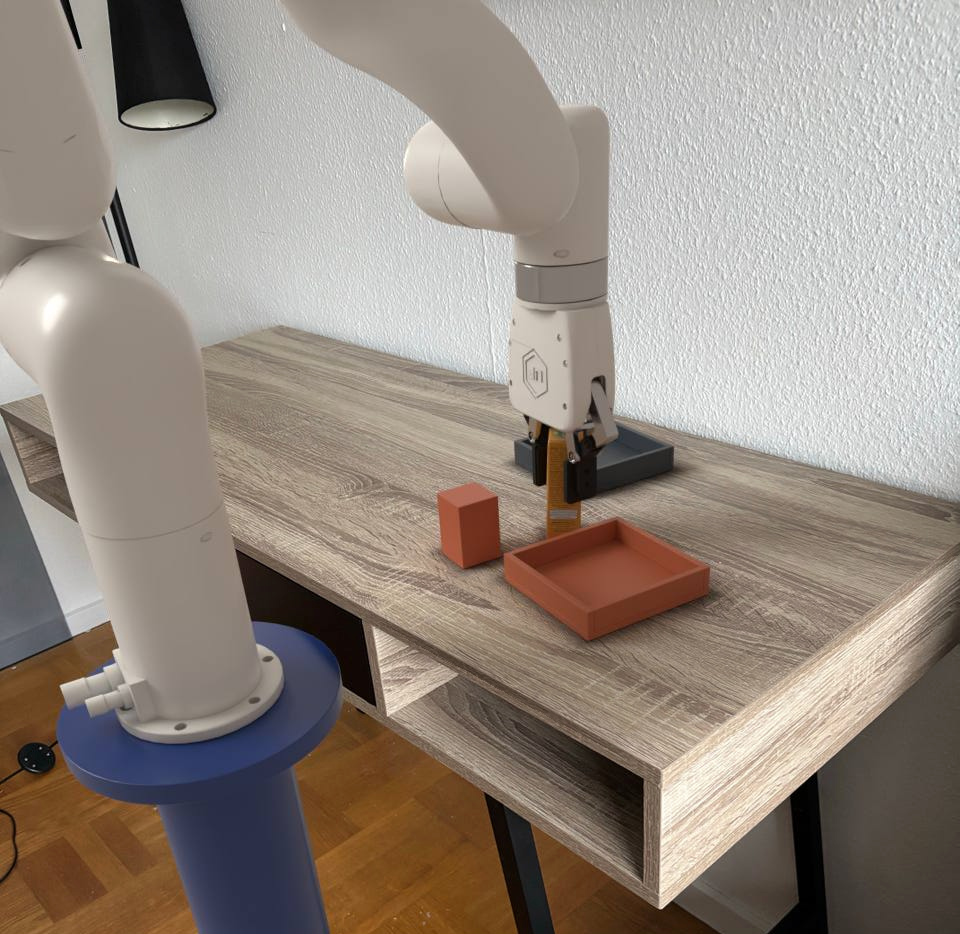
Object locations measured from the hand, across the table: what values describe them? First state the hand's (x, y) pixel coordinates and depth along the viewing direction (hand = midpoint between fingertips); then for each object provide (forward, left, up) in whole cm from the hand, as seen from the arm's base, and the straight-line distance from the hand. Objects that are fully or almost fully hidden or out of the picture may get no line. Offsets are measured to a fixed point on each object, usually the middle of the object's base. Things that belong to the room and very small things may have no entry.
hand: (564, 488), depth 86 cm
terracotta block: (-9, +2, -5) cm, 10 cm away
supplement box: (0, 0, -5) cm, 5 cm away
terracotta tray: (-3, -10, -5) cm, 11 cm away
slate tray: (+12, +12, -5) cm, 18 cm away
